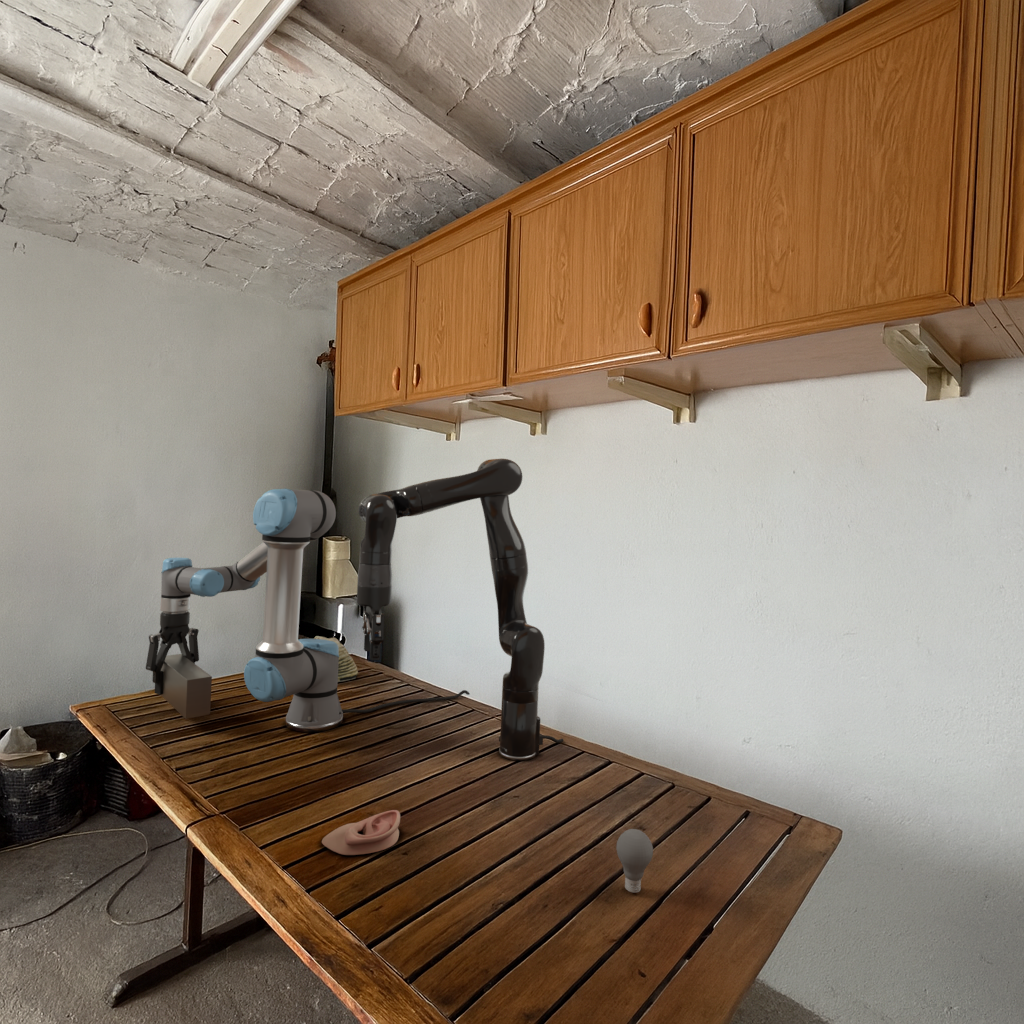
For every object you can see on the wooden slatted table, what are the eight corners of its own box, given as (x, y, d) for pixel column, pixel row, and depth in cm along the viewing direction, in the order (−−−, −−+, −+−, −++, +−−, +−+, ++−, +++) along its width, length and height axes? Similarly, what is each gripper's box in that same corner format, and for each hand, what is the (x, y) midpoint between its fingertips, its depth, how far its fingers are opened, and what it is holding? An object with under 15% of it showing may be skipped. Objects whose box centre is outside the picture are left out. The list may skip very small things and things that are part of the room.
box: (156, 691, 184) (158, 656, 184) (179, 687, 188) (180, 653, 188) (185, 719, 164) (187, 680, 164) (210, 714, 168) (211, 676, 168)
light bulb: (610, 879, 108) (613, 822, 108) (644, 879, 109) (647, 822, 109) (619, 902, 102) (622, 840, 102) (655, 901, 103) (658, 840, 103)
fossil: (298, 680, 214) (300, 636, 214) (348, 672, 226) (350, 630, 226) (309, 687, 207) (311, 641, 207) (360, 678, 220) (362, 635, 220)
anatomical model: (313, 828, 113) (343, 799, 125) (313, 850, 113) (342, 819, 125) (383, 839, 111) (407, 808, 122) (382, 862, 111) (406, 829, 122)
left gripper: (148, 618, 172) (144, 701, 173) (215, 608, 189) (211, 684, 190) (132, 614, 176) (129, 696, 176) (199, 605, 193) (196, 680, 194)
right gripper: (397, 587, 137) (394, 662, 137) (385, 579, 150) (383, 647, 150) (362, 588, 134) (359, 664, 134) (353, 579, 147) (350, 648, 147)
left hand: (172, 690), depth 183 cm, fingers closed on box, 7 cm apart
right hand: (371, 655), depth 142 cm, fingers open, 8 cm apart
